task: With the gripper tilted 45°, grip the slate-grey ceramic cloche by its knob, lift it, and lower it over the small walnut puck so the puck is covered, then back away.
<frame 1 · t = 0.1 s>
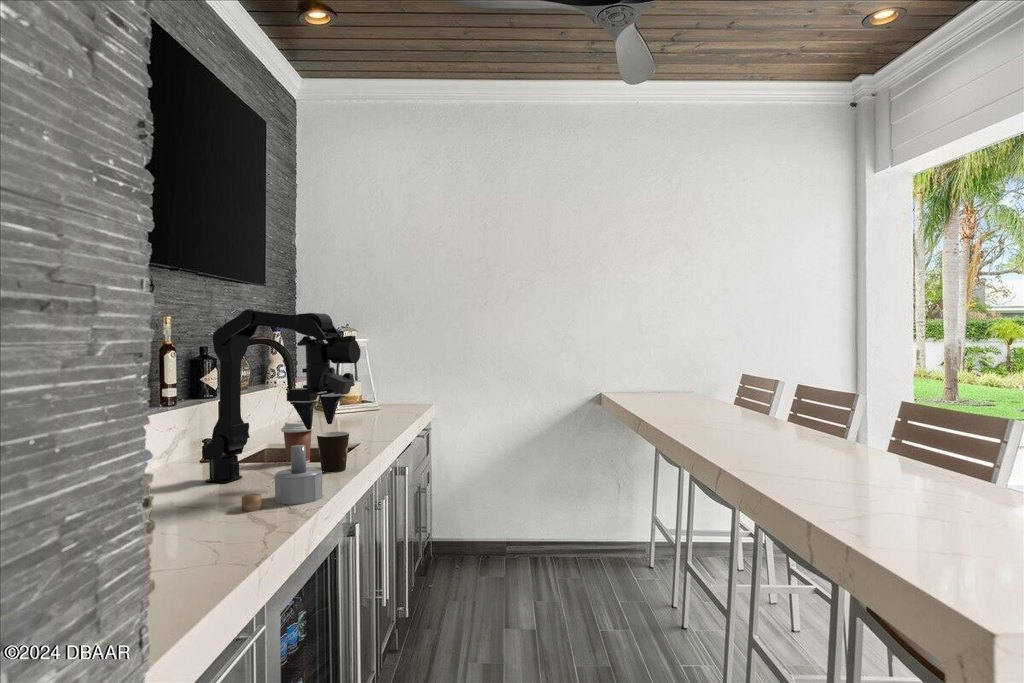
hand: (319, 426, 154), 15 cm above the counter, tool pointing down, fingers open, 9 cm apart
coffee mug: (336, 469, 173), on the counter
walnut puck: (251, 509, 134), on the counter
slate cloche: (299, 498, 142), on the counter
coffee cup: (298, 463, 183), on the counter
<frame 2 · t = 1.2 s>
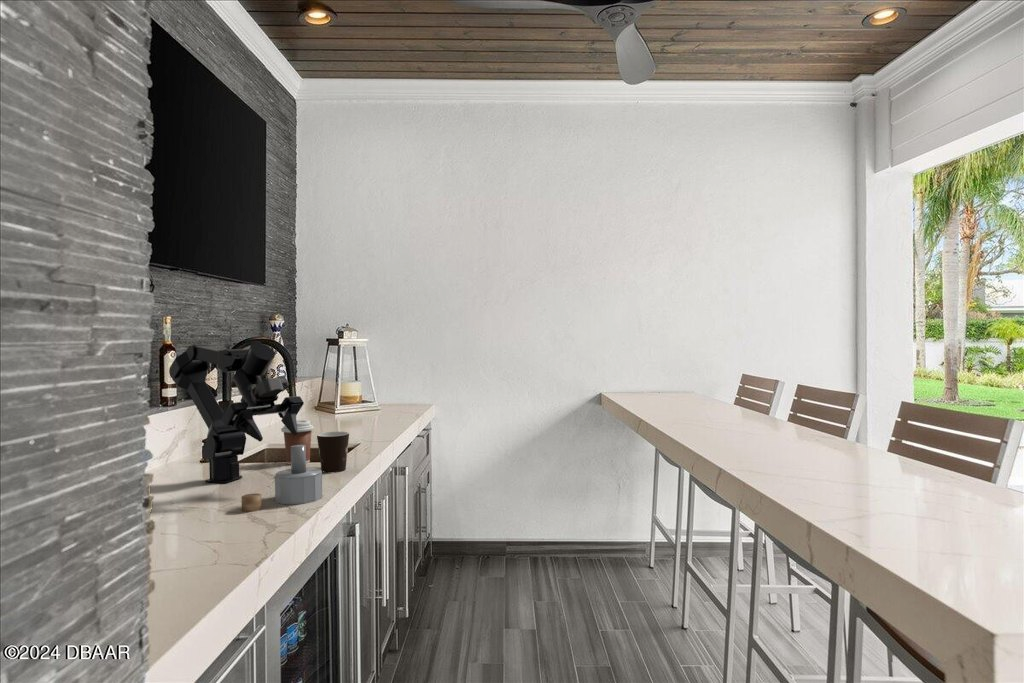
hand: (279, 437, 146), 13 cm above the counter, tool tilted 45°, fingers open, 9 cm apart
nothing on the counter moved.
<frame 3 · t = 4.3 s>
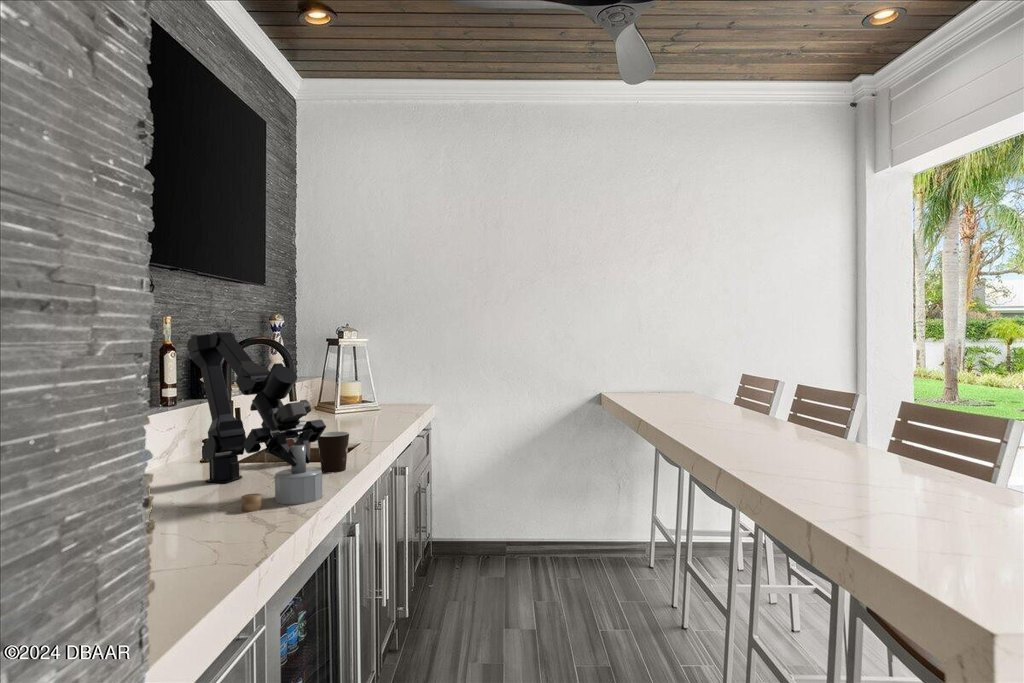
hand: (302, 463, 141), 8 cm above the counter, tool tilted 45°, fingers closed on slate cloche, 3 cm apart
slate cloche: (299, 498, 142), on the counter, touching gripper
everything else where it was.
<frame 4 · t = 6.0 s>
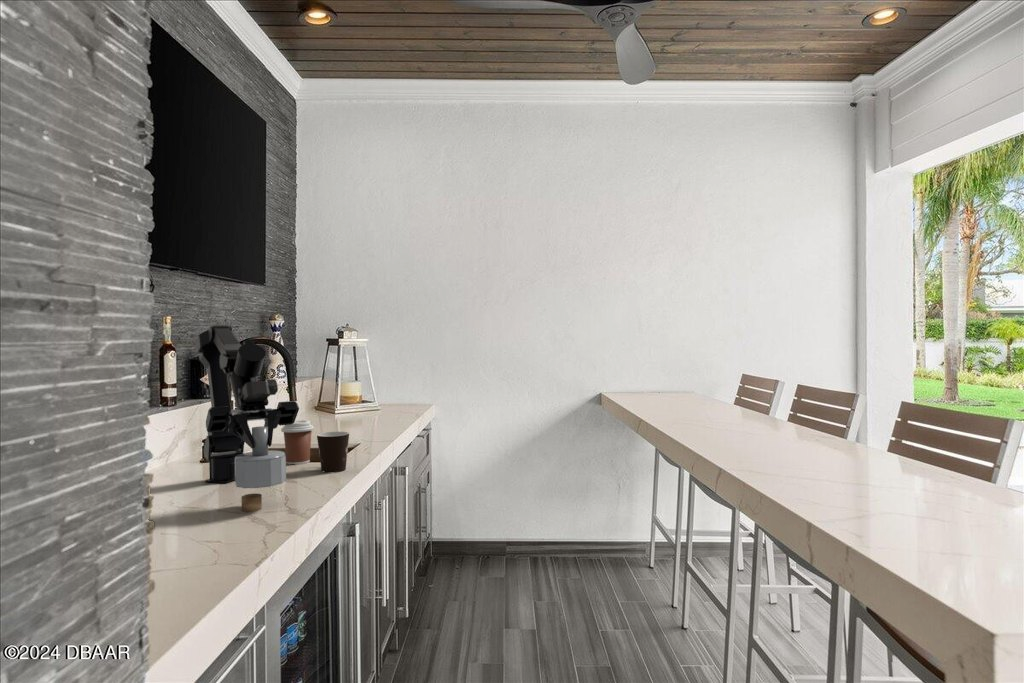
hand: (261, 446, 134), 14 cm above the counter, tool tilted 45°, fingers closed on slate cloche, 3 cm apart
slate cloche: (260, 482, 135), point 5 cm above the counter, touching gripper
everything else where it was.
when the fingers open (9 cm above the counter, at t = 7.8 s): slate cloche drops 1 cm, on the counter.
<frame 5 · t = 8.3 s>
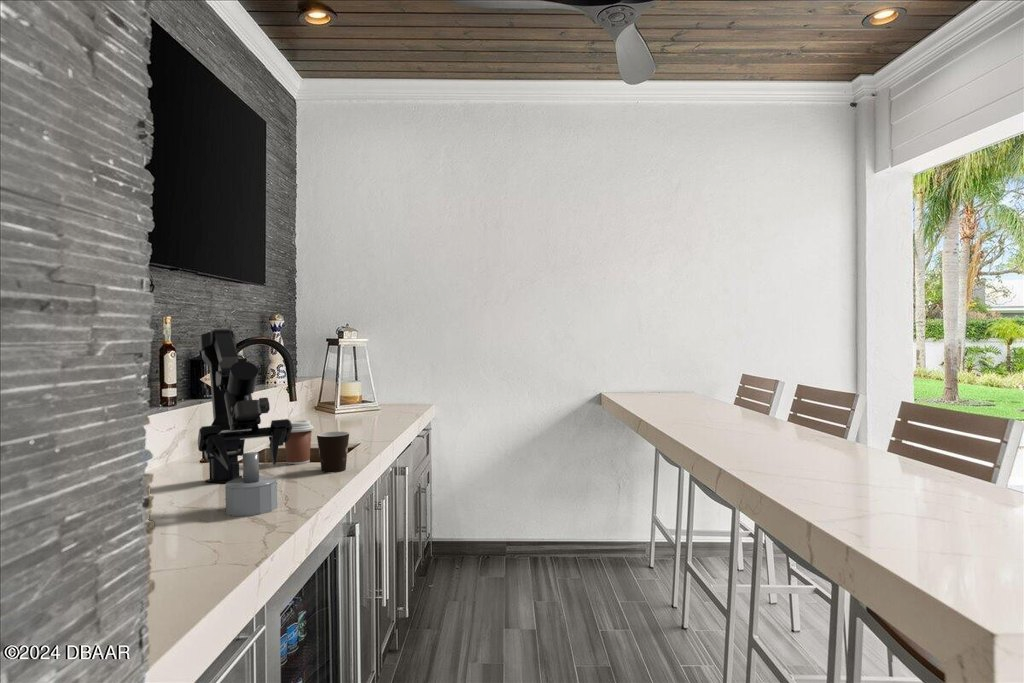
hand: (252, 466, 133), 10 cm above the counter, tool tilted 45°, fingers open, 9 cm apart
slate cloche: (251, 509, 134), on the counter
everything else where it was.
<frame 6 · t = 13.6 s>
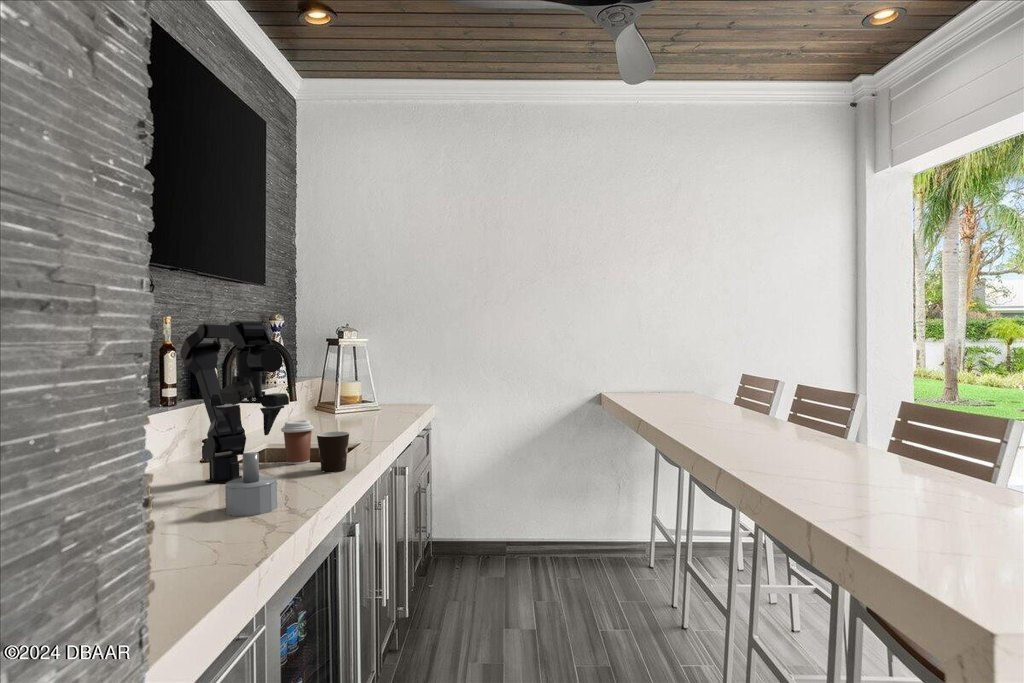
hand: (250, 434, 153), 13 cm above the counter, tool pointing down, fingers open, 9 cm apart
nothing on the counter moved.
at the end: slate cloche 0.0 cm from the walnut puck (horizontally); slate cloche on the counter; slate cloche tilted 0° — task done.
